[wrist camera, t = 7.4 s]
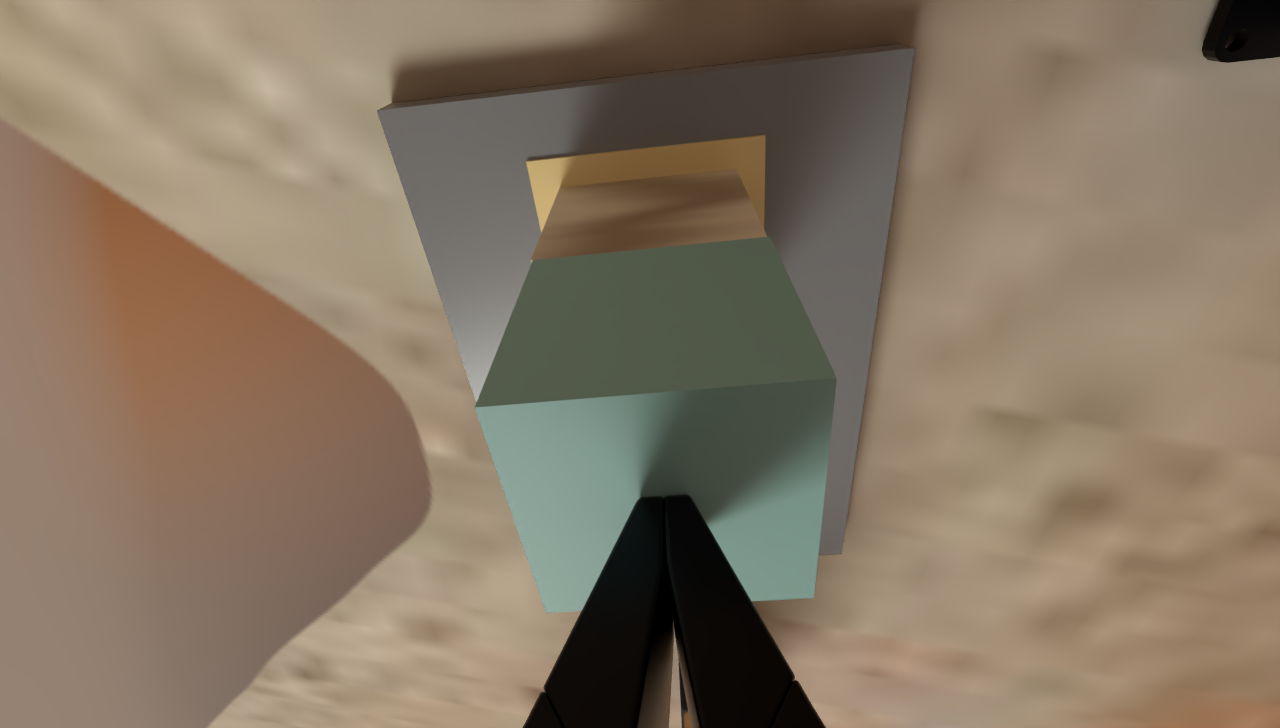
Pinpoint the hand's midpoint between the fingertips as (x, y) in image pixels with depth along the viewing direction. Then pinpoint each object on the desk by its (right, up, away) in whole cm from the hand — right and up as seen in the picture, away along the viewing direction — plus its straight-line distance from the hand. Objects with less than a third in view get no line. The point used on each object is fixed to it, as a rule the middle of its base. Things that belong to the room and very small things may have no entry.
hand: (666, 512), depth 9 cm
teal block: (0, +3, +4) cm, 5 cm away
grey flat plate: (+1, +2, +12) cm, 12 cm away
